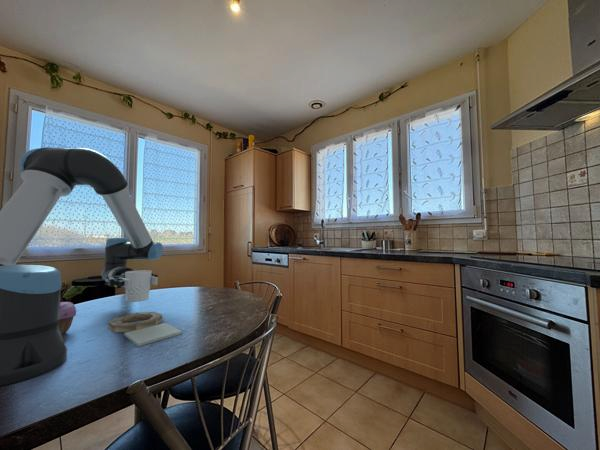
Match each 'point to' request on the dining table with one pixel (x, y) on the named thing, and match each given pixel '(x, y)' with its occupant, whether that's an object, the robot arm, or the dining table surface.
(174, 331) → the pad
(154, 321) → the collar
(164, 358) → the dining table surface
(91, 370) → the dining table surface
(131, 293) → the white cup
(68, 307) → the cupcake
